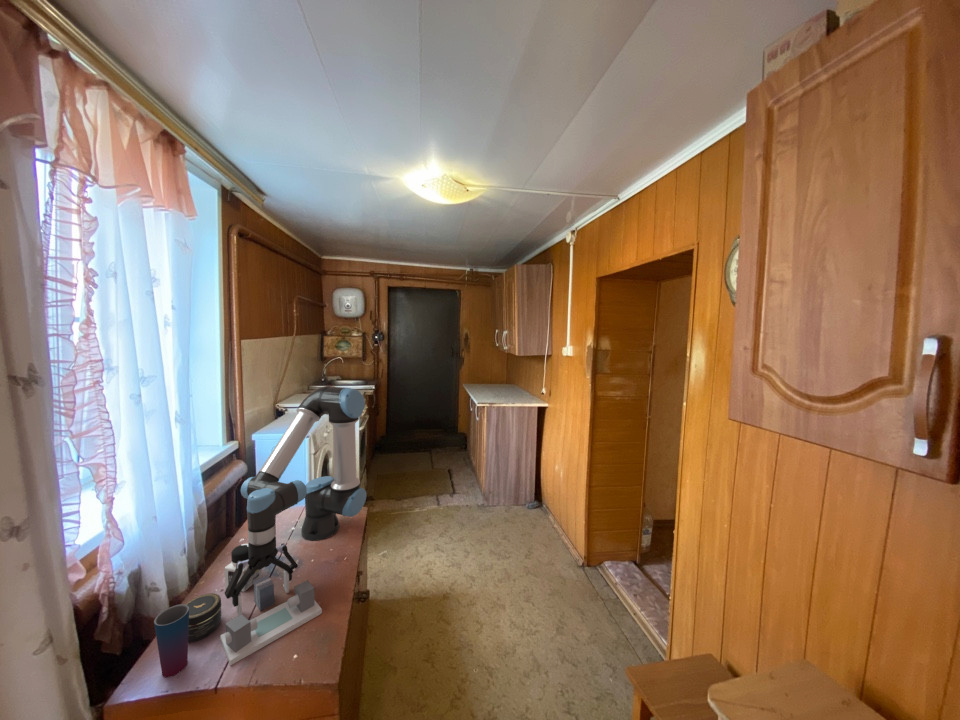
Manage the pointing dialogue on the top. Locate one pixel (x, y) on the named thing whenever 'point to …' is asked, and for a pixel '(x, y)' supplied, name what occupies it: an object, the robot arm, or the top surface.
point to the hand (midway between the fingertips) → (264, 601)
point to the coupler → (264, 592)
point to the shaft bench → (269, 624)
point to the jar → (203, 616)
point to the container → (242, 555)
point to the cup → (172, 639)
